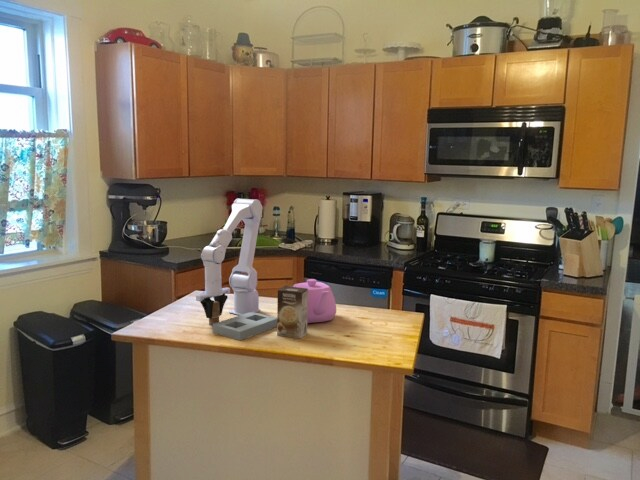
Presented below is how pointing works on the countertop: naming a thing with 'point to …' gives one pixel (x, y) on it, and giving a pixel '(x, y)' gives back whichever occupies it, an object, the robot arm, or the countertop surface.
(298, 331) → the coffee box
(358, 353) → the countertop surface
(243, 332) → the grey board with holes
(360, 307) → the countertop surface
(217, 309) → the walnut peg
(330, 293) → the teapot
